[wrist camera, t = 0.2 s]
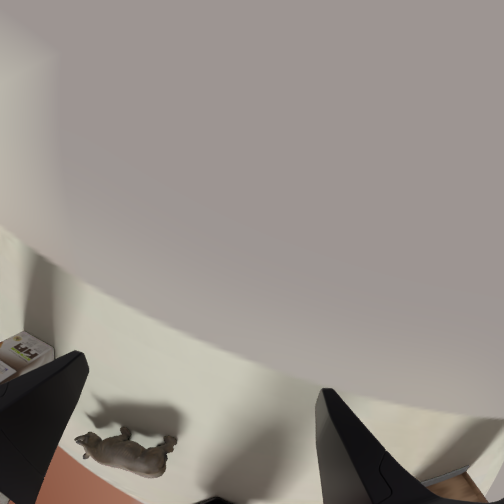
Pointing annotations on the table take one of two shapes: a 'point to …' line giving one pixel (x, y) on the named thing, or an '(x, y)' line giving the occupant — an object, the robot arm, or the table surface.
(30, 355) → the coffee box
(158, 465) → the rhino figurine
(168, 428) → the table surface
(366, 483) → the robot arm
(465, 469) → the card
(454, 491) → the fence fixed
